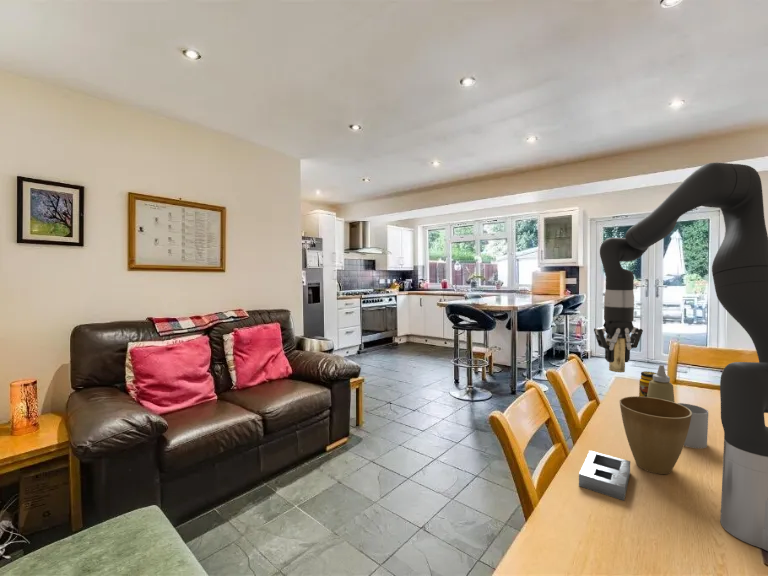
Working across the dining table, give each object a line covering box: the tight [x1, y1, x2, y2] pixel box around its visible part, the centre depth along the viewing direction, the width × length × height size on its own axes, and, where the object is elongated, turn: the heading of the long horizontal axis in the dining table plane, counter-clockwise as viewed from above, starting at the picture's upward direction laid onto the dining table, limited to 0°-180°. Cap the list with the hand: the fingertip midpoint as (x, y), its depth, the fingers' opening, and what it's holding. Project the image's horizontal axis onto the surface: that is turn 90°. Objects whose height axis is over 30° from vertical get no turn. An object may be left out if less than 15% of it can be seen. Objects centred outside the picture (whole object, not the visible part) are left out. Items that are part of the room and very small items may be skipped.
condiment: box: [638, 371, 657, 397], centre depth 138 cm, size 7×8×12 cm
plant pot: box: [619, 395, 692, 475], centre depth 94 cm, size 15×15×16 cm
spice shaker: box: [608, 334, 626, 373], centre depth 110 cm, size 4×4×11 cm
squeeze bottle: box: [647, 364, 676, 403], centre depth 126 cm, size 8×8×18 cm
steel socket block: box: [578, 450, 631, 501], centre depth 89 cm, size 14×9×3 cm, turn 142°
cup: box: [677, 402, 709, 449], centre depth 108 cm, size 8×8×10 cm
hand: (617, 361), depth 110 cm, fingers closed on spice shaker, 4 cm apart
